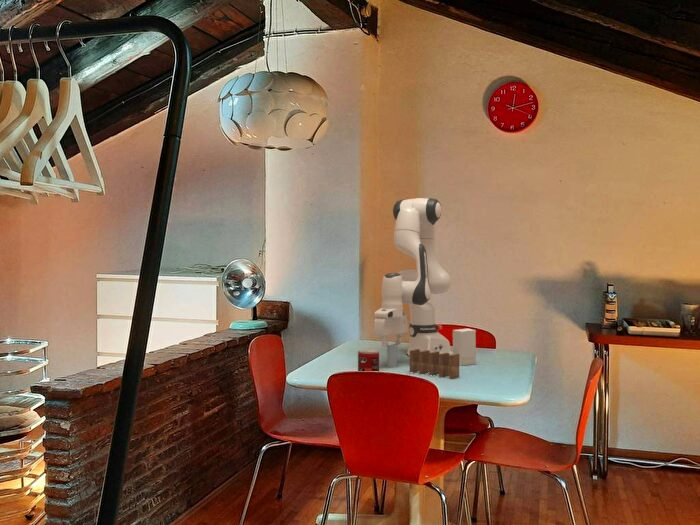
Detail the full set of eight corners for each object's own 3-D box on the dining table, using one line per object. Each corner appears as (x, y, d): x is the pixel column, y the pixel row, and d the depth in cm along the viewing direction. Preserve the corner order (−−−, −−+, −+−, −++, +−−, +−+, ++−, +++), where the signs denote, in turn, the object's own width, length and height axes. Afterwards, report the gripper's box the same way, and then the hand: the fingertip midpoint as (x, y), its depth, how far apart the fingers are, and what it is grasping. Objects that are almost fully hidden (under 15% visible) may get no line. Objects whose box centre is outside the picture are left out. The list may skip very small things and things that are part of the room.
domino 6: (449, 378, 273) (449, 355, 273) (455, 376, 277) (455, 353, 277) (452, 379, 272) (452, 355, 272) (459, 377, 276) (459, 353, 276)
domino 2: (409, 373, 285) (409, 350, 284) (416, 371, 288) (416, 348, 288) (413, 373, 284) (413, 350, 283) (419, 371, 288) (419, 349, 287)
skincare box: (468, 362, 308) (468, 328, 308) (476, 364, 303) (476, 329, 302) (451, 363, 305) (452, 329, 304) (460, 366, 299) (460, 330, 299)
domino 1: (387, 367, 297) (387, 345, 296) (394, 365, 301) (394, 344, 300) (390, 367, 296) (390, 346, 295) (397, 365, 300) (397, 344, 299)
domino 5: (439, 377, 276) (439, 354, 276) (445, 375, 280) (445, 352, 280) (442, 377, 275) (442, 354, 275) (449, 375, 279) (449, 352, 279)
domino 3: (419, 374, 282) (419, 351, 281) (426, 372, 286) (426, 350, 285) (422, 374, 281) (422, 352, 280) (429, 372, 285) (429, 350, 284)
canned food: (357, 377, 276) (357, 348, 276) (377, 376, 277) (377, 348, 276) (359, 381, 268) (359, 352, 268) (380, 380, 269) (380, 351, 269)
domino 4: (429, 375, 279) (429, 352, 279) (435, 373, 283) (435, 351, 283) (432, 376, 278) (432, 353, 278) (439, 374, 282) (439, 351, 282)
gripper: (399, 310, 307) (399, 342, 307) (371, 313, 291) (371, 347, 291) (412, 311, 303) (411, 343, 303) (384, 314, 287) (383, 348, 287)
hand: (391, 345), depth 297 cm, fingers open, 8 cm apart
